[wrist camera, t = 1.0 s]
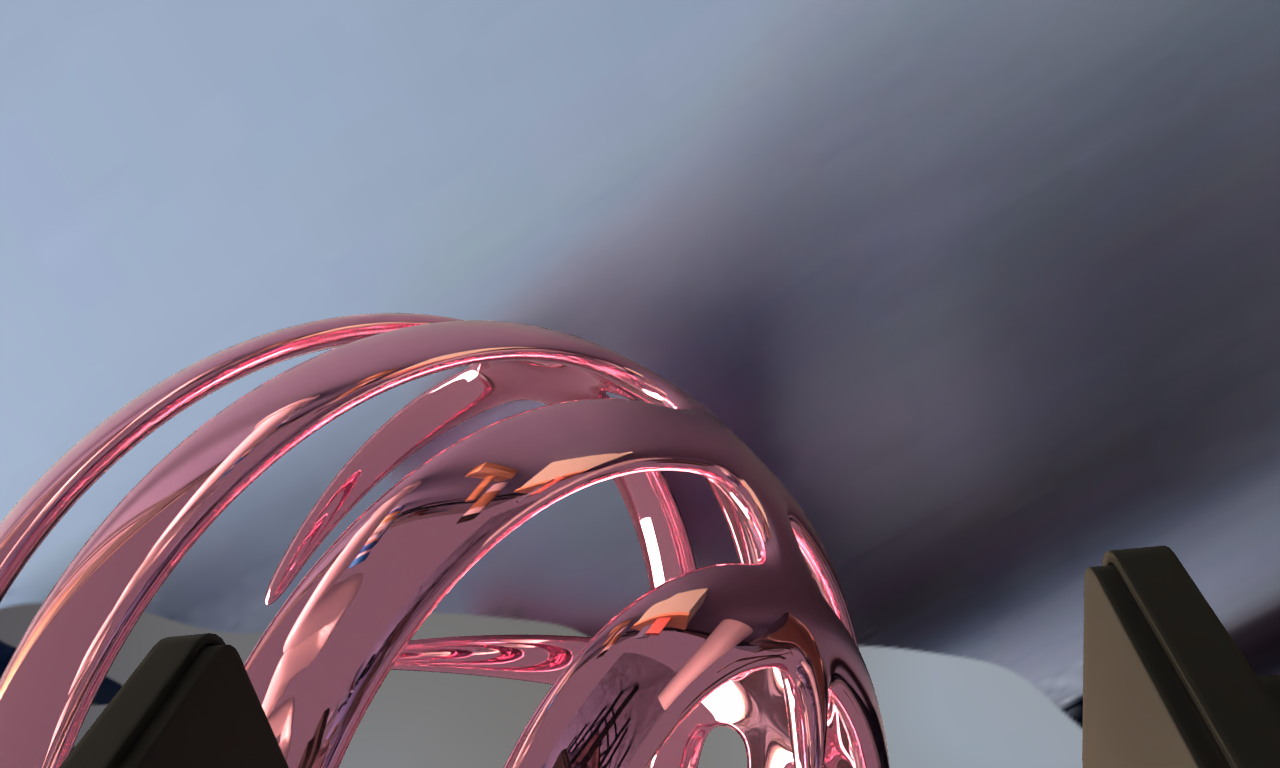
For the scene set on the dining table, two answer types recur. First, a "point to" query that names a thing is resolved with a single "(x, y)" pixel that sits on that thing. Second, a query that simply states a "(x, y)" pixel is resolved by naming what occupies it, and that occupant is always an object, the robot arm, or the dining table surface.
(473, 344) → the pink openwork sphere
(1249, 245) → the dining table surface
